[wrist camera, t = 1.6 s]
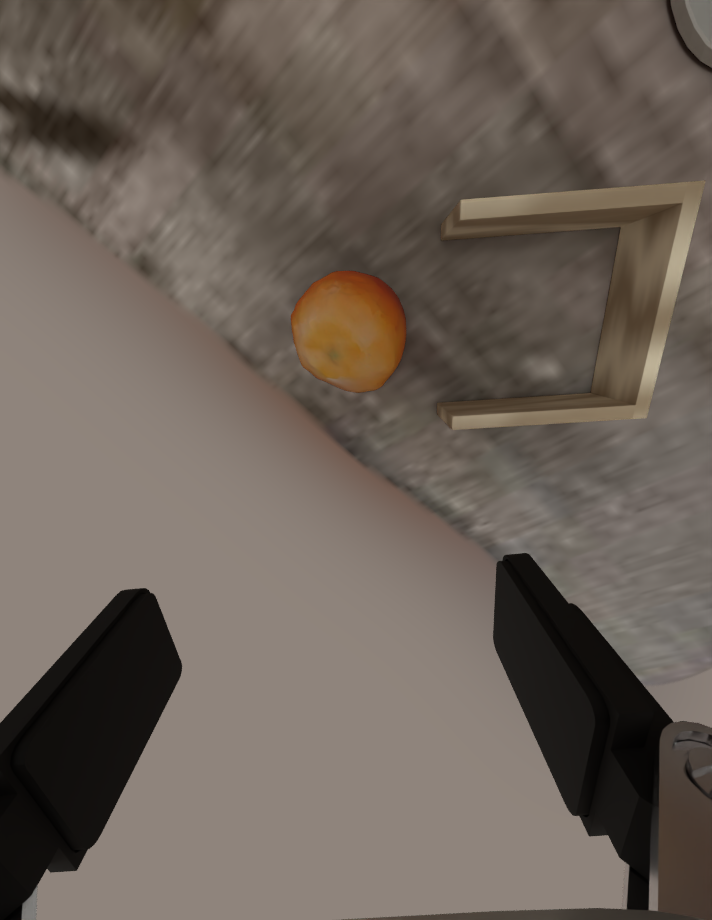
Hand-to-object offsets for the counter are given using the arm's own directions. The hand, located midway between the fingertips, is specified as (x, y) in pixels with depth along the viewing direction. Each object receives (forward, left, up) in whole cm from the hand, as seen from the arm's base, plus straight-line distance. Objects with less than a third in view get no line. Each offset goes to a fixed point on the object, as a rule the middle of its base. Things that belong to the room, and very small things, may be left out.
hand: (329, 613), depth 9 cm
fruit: (-7, +1, -22) cm, 23 cm away
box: (-7, +15, -22) cm, 27 cm away
